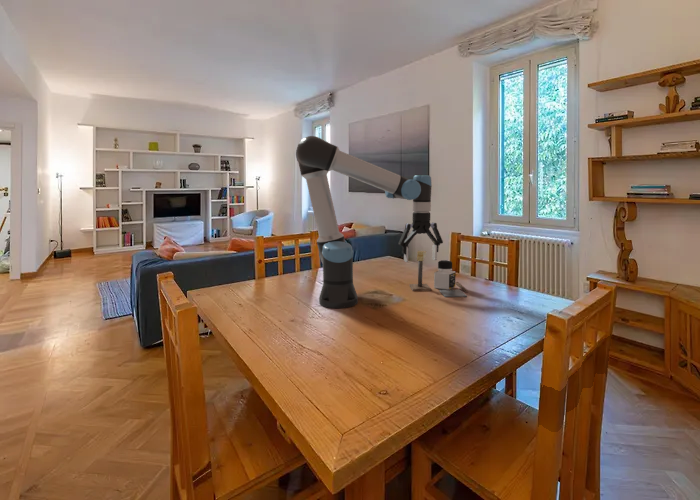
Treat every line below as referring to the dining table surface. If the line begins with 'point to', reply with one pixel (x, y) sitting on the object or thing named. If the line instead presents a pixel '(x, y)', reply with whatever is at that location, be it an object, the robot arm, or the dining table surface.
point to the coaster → (453, 293)
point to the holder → (425, 286)
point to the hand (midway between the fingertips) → (420, 260)
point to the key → (421, 255)
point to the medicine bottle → (444, 275)
